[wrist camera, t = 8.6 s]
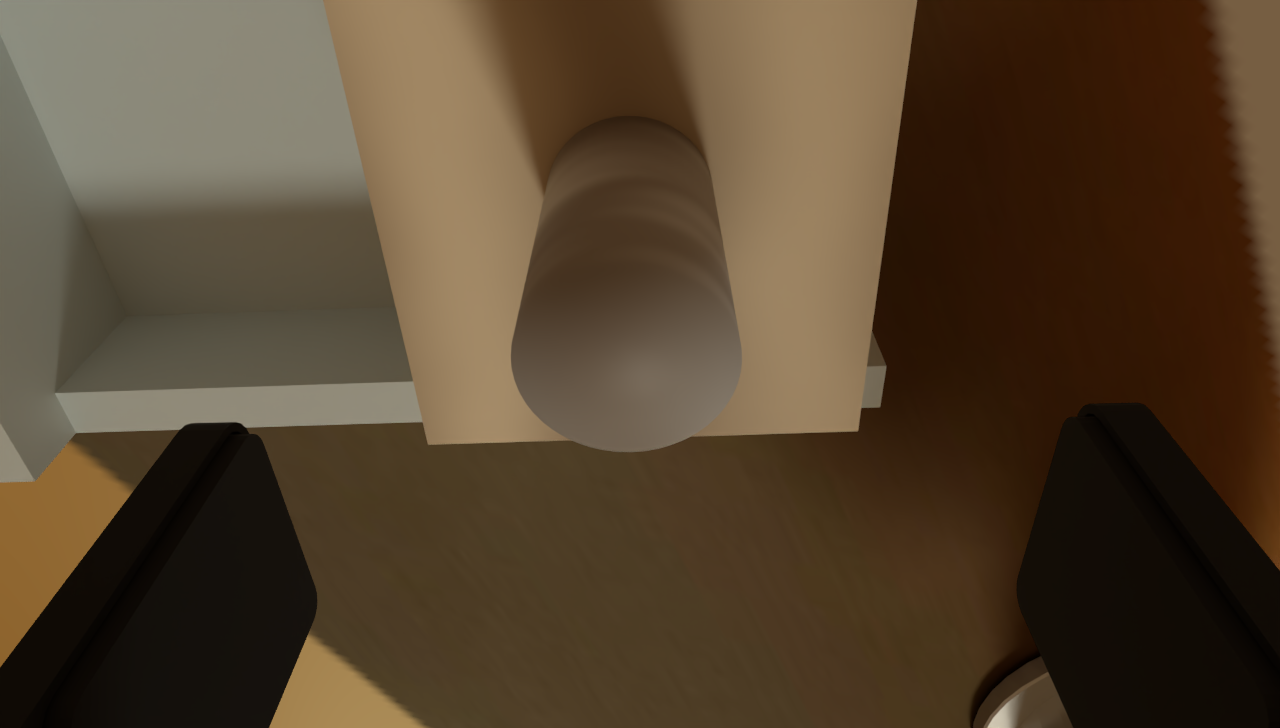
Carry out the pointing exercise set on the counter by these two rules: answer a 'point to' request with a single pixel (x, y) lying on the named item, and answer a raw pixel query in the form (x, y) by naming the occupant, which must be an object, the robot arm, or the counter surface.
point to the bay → (188, 228)
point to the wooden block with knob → (629, 208)
